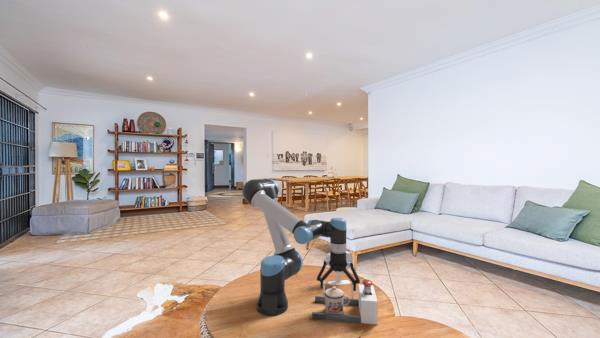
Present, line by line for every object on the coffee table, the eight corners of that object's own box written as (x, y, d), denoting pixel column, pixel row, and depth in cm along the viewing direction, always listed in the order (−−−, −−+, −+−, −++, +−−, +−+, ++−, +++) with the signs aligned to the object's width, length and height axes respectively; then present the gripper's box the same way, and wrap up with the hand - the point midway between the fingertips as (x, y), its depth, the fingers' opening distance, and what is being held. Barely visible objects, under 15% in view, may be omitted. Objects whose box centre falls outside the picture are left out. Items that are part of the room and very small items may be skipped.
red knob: (362, 298, 123) (363, 283, 123) (362, 294, 127) (362, 279, 127) (372, 299, 122) (372, 284, 122) (371, 294, 126) (371, 279, 126)
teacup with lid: (326, 317, 122) (326, 291, 122) (323, 306, 131) (323, 283, 131) (352, 316, 122) (352, 290, 122) (347, 305, 131) (347, 282, 131)
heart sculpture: (349, 279, 162) (350, 250, 162) (353, 283, 157) (353, 252, 157) (325, 281, 159) (325, 251, 159) (327, 285, 154) (327, 254, 154)
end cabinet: (360, 323, 117) (361, 300, 117) (358, 304, 133) (358, 284, 133) (377, 324, 116) (377, 301, 116) (372, 305, 132) (373, 285, 132)
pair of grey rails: (311, 319, 120) (311, 313, 120) (315, 300, 136) (315, 296, 136) (360, 323, 117) (361, 317, 117) (358, 304, 133) (358, 299, 133)
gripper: (311, 252, 124) (311, 298, 125) (365, 255, 121) (365, 302, 121) (312, 247, 132) (312, 290, 132) (364, 250, 128) (364, 294, 128)
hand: (337, 296), depth 126 cm, fingers open, 13 cm apart
